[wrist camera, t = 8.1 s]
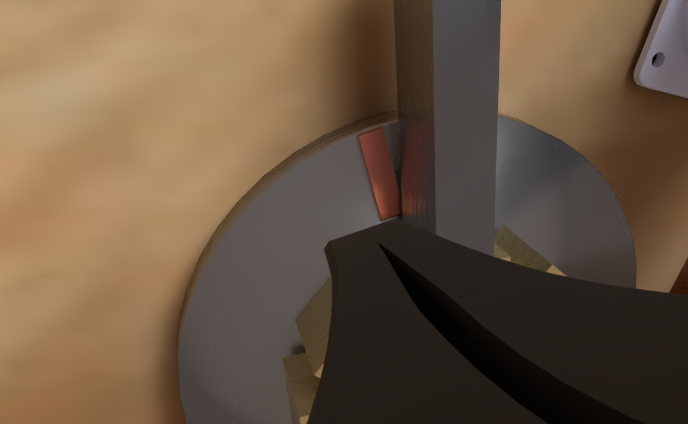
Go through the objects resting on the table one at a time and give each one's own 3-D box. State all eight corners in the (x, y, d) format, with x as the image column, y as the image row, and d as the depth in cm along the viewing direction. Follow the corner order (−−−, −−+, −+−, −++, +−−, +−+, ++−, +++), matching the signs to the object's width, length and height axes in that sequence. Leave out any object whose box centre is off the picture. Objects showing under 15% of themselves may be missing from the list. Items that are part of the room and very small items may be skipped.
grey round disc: (226, 54, 18) (248, 90, 13) (684, 152, 24) (808, 200, 19) (144, 514, 24) (140, 650, 19) (529, 500, 30) (596, 602, 25)
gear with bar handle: (594, -84, 18) (670, -90, 15) (551, 429, 26) (595, 484, 23) (222, -52, 16) (233, -52, 13) (302, 499, 24) (320, 568, 21)
